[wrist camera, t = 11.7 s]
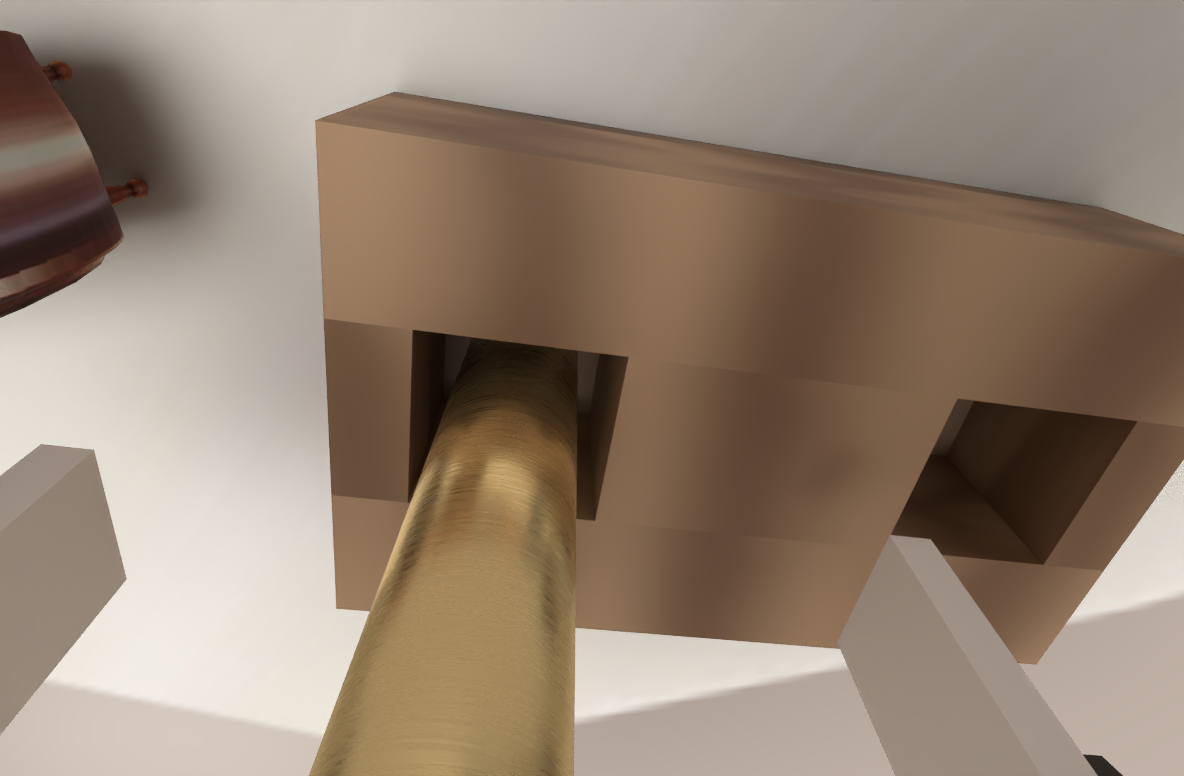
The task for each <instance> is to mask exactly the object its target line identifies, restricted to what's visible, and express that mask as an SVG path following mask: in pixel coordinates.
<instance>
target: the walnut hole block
mask: <svg viewBox="0 0 1184 776" xmlns="http://www.w3.org/2000/svg"><path fill="white" fill-rule="evenodd" d="M315 122H316V146H317V169H318V192H319V215H320V238H321V261H322V285H323V308H324V331H325V354H326V377H327V400H328V424H329V447H330V470H331V493H332V516H333V539H334V562H335V586H336V609H348V610H361V611H370V610H371V607H372V605H373V602H374V599H375V597H376V594H377V591H378V589H379V586H380V583H381V580H382V578H383V575H384V572H385V570H386V567H387V564H388V562H389V559H390V556H391V553H392V551H393V548H394V545H395V543H396V540H397V537H398V535H399V532H400V529H401V527H402V524H403V521H404V518H405V516H406V513H407V510H408V508H409V505H410V502H411V500H412V497H413V494H414V492H415V489H416V486H417V483H418V481H419V478H420V475H421V473H422V470H423V467H424V465H425V462H426V459H427V457H428V454H429V451H430V448H431V446H432V443H433V440H434V438H435V435H436V432H437V430H438V427H439V424H440V421H441V419H442V416H443V413H444V411H445V408H446V405H447V403H448V400H449V397H450V395H451V392H452V389H453V386H454V384H455V381H456V378H457V376H458V373H459V370H460V368H461V365H462V362H463V360H464V357H465V354H466V351H467V349H468V346H469V343H470V341H471V338H472V337H474V338H482V339H490V340H498V341H506V342H514V343H522V344H530V345H538V346H546V347H554V348H562V349H570V350H577V351H578V405H577V503H576V601H575V628H586V629H598V630H611V631H623V632H636V633H648V634H661V635H673V636H686V637H698V638H711V639H723V640H736V641H748V642H761V643H774V644H786V645H799V646H811V647H824V648H836V649H840V647H839V645H838V643H837V642H838V640H839V637H840V635H841V633H842V631H843V629H844V627H845V625H846V623H847V621H848V619H849V617H850V615H851V613H852V611H853V609H854V607H855V605H856V603H857V601H858V599H859V597H860V595H861V593H862V591H863V589H864V587H865V585H866V582H867V580H868V578H869V576H870V574H871V572H872V570H873V568H874V566H875V564H876V562H877V560H878V558H879V556H880V554H881V552H882V550H883V548H884V546H885V544H886V542H887V540H888V538H889V536H890V535H895V536H905V537H914V538H924V539H931V540H932V542H933V543H934V545H935V546H936V547H937V549H938V550H939V552H940V553H941V555H942V556H943V557H944V559H945V560H946V562H947V563H948V564H949V566H950V567H951V569H952V570H953V572H954V573H955V574H956V576H957V577H958V579H959V580H960V581H961V583H962V584H963V586H964V587H965V589H966V590H967V591H968V593H969V594H970V596H971V597H972V598H973V600H974V601H975V603H976V604H977V606H978V607H979V608H980V610H981V611H982V613H983V614H984V615H985V617H986V618H987V620H988V621H989V622H990V624H991V625H992V627H993V628H994V630H995V631H996V632H997V634H998V635H999V637H1000V638H1001V639H1002V641H1003V642H1004V644H1005V645H1006V647H1007V648H1008V649H1009V651H1010V652H1011V654H1012V655H1013V656H1014V658H1015V659H1016V661H1017V662H1018V663H1024V664H1037V663H1038V661H1039V660H1040V658H1041V657H1042V656H1043V654H1044V653H1045V652H1046V650H1047V649H1048V647H1049V646H1050V645H1051V643H1052V642H1053V640H1054V639H1055V638H1056V636H1057V635H1058V633H1059V632H1060V631H1061V629H1062V628H1063V627H1064V625H1065V624H1066V622H1067V621H1068V620H1069V618H1070V617H1071V615H1072V614H1073V613H1074V611H1075V610H1076V608H1077V607H1078V606H1079V604H1080V603H1081V601H1082V600H1083V599H1084V597H1085V596H1086V595H1087V593H1088V592H1089V590H1090V589H1091V588H1092V586H1093V585H1094V583H1095V582H1096V581H1097V579H1098V578H1099V576H1100V575H1101V574H1102V572H1103V571H1104V569H1105V568H1106V567H1107V565H1108V564H1109V562H1110V561H1111V560H1112V558H1113V557H1114V556H1115V554H1116V553H1117V551H1118V550H1119V549H1120V547H1121V546H1122V544H1123V543H1124V542H1125V540H1126V539H1127V537H1128V536H1129V535H1130V533H1131V532H1132V530H1133V529H1134V528H1135V526H1136V525H1137V524H1138V522H1139V521H1140V519H1141V518H1142V517H1143V515H1144V514H1145V512H1146V511H1147V510H1148V508H1149V507H1150V505H1151V504H1152V503H1153V501H1154V500H1155V498H1156V497H1157V496H1158V494H1159V493H1160V492H1161V490H1162V489H1163V487H1164V486H1165V485H1166V483H1167V482H1168V480H1169V479H1170V478H1171V476H1172V475H1173V473H1174V472H1175V471H1176V469H1177V468H1178V466H1179V465H1180V464H1181V462H1182V461H1183V460H1184V235H1183V234H1180V233H1177V232H1174V231H1171V230H1168V229H1165V228H1162V227H1158V226H1155V225H1152V224H1149V223H1146V222H1143V221H1140V220H1137V219H1134V218H1131V217H1128V216H1125V215H1122V214H1119V213H1116V212H1113V211H1110V210H1107V209H1104V208H1099V207H1093V206H1086V205H1080V204H1074V203H1068V202H1062V201H1056V200H1050V199H1044V198H1038V197H1032V196H1026V195H1020V194H1013V193H1007V192H1001V191H995V190H989V189H983V188H977V187H971V186H965V185H959V184H953V183H947V182H940V181H934V180H928V179H922V178H916V177H910V176H904V175H898V174H892V173H886V172H880V171H873V170H867V169H861V168H855V167H849V166H843V165H837V164H831V163H825V162H819V161H813V160H807V159H800V158H794V157H788V156H782V155H776V154H770V153H764V152H758V151H752V150H746V149H740V148H734V147H727V146H721V145H715V144H709V143H703V142H697V141H691V140H685V139H679V138H673V137H667V136H660V135H654V134H648V133H642V132H636V131H630V130H624V129H618V128H612V127H606V126H600V125H594V124H587V123H581V122H575V121H569V120H563V119H557V118H551V117H545V116H539V115H533V114H527V113H521V112H514V111H508V110H502V109H496V108H490V107H484V106H478V105H472V104H466V103H460V102H454V101H447V100H441V99H435V98H429V97H423V96H417V95H411V94H405V93H399V92H393V93H390V94H387V95H384V96H382V97H379V98H376V99H373V100H371V101H368V102H365V103H362V104H359V105H357V106H354V107H351V108H348V109H346V110H343V111H340V112H337V113H335V114H332V115H329V116H326V117H323V118H321V119H318V120H315Z"/></svg>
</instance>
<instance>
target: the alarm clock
mask: <svg viewBox="0 0 1184 776" xmlns="http://www.w3.org/2000/svg"><path fill="white" fill-rule="evenodd" d="M71 77H72V70H71V69H70V67H69V66H68V65H67V64H66V63H64V62H63V61H53V62H50V63H49V64H48V67H40V66H39V64H38V63H37V61H36V60H35V58H34V56H33V55H32V53H31V51H30V50H29V48H28V46H27V44H26V43H25V41H24V39H23V38H22V36H21V35H19V34H15V33H12V32H8V31H0V318H1V317H3V316H6V315H8V314H10V313H13V312H15V311H18V310H20V309H22V308H25V307H27V306H29V305H31V304H33V303H35V302H37V301H39V300H41V299H43V298H45V297H47V296H49V295H51V294H53V293H55V292H57V291H59V290H61V289H63V288H65V287H67V286H69V285H71V284H73V283H75V282H77V281H78V280H80V279H81V278H82V277H84V276H85V275H87V274H88V273H89V272H91V271H92V270H93V269H95V268H96V267H98V266H99V265H100V264H101V263H102V261H103V259H104V256H105V255H106V254H107V253H109V252H110V251H112V250H113V249H115V248H116V247H117V246H118V245H119V244H120V243H121V242H122V240H123V233H122V230H121V227H120V225H119V222H118V219H117V216H116V214H115V211H114V209H113V206H114V205H116V204H118V203H120V202H122V201H124V200H126V199H128V198H130V197H135V198H142V197H145V196H146V195H147V193H148V187H147V186H146V184H145V182H143V181H141V180H139V179H131V180H129V181H128V182H127V183H126V185H122V186H112V187H105V186H104V183H103V180H102V178H101V175H100V173H99V170H98V168H97V165H96V162H95V160H94V157H93V155H92V152H91V150H90V148H89V146H88V144H87V142H86V140H85V138H84V136H83V134H82V132H81V130H80V128H79V126H78V124H77V122H76V121H75V119H74V118H73V116H72V115H71V113H70V112H69V110H68V109H67V107H66V106H65V104H64V103H63V101H62V99H61V98H60V96H59V95H58V93H57V92H56V90H55V89H54V87H53V86H52V84H51V83H50V82H52V81H54V80H56V79H57V80H60V81H67V80H69V79H70V78H71Z"/></svg>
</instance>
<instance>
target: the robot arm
mask: <svg viewBox="0 0 1184 776" xmlns="http://www.w3.org/2000/svg"><path fill="white" fill-rule="evenodd" d="M125 580H126V575H125V571H124V567H123V563H122V559H121V555H120V551H119V547H118V543H117V540H116V536H115V532H114V528H113V524H112V520H111V516H110V512H109V508H108V504H107V500H106V496H105V492H104V488H103V484H102V480H101V476H100V472H99V468H98V464H97V460H96V457H95V453H94V450H90V449H80V448H71V447H61V446H52V445H43V444H41V445H39V446H38V447H37V448H36V449H34V450H33V451H32V452H30V453H29V454H28V455H27V456H25V457H24V458H23V459H22V460H20V461H19V462H18V463H16V464H15V465H14V466H13V467H11V468H10V469H9V470H7V471H6V472H5V473H4V474H2V475H1V476H0V735H1V733H2V732H3V731H4V730H5V728H6V727H7V726H8V725H9V723H10V722H11V721H12V720H13V719H14V717H15V716H16V715H17V714H18V712H19V711H20V710H21V709H22V707H23V706H24V705H25V704H26V702H27V701H28V700H29V699H30V698H31V696H32V695H33V694H34V692H35V691H36V690H37V689H38V688H39V686H40V685H41V684H42V683H43V682H44V680H45V679H46V678H47V677H48V675H49V674H50V673H51V672H52V670H53V669H54V668H55V667H56V666H57V664H58V663H59V662H60V661H61V659H62V658H63V657H64V656H65V654H66V653H67V652H68V651H69V649H70V648H71V647H72V646H73V645H74V643H75V642H76V641H77V640H78V638H79V637H80V636H81V635H82V633H83V632H84V631H85V630H86V629H87V627H88V626H89V625H90V624H91V622H92V621H93V620H94V619H95V617H96V616H97V615H98V614H99V612H100V611H101V610H102V609H103V608H104V606H105V605H106V604H107V603H108V601H109V600H110V599H111V598H112V596H113V595H114V594H115V593H116V592H117V590H118V589H119V588H120V587H121V585H122V584H123V583H124V582H125ZM837 643H838V645H839V647H840V650H841V652H842V654H843V656H844V659H845V661H846V663H847V666H848V668H849V670H850V673H851V675H852V677H853V679H854V682H855V684H856V686H857V689H858V691H859V693H860V695H861V698H862V700H863V702H864V705H865V707H866V709H867V712H868V714H869V716H870V719H871V721H872V723H873V725H874V728H875V730H876V732H877V735H878V737H879V739H880V742H881V744H882V746H883V748H884V750H885V753H886V755H887V757H888V760H889V762H890V765H891V767H892V769H893V771H894V774H895V776H1123V775H1121V774H1120V773H1119V772H1118V771H1117V770H1116V769H1115V768H1114V767H1113V766H1112V765H1111V764H1109V762H1108V761H1106V760H1105V759H1104V758H1103V757H1102V756H1096V755H1083V754H1082V753H1081V751H1080V750H1079V748H1078V747H1077V746H1076V745H1075V743H1074V741H1073V740H1072V739H1071V737H1070V736H1069V734H1068V733H1067V731H1066V730H1065V729H1064V727H1063V726H1062V725H1061V723H1060V722H1059V720H1058V719H1057V717H1056V716H1055V715H1054V713H1053V712H1052V710H1051V709H1050V707H1049V706H1048V705H1047V703H1046V702H1045V700H1044V699H1043V698H1042V696H1041V695H1040V694H1039V692H1038V690H1037V689H1036V688H1035V686H1034V685H1033V684H1032V682H1031V681H1030V679H1029V678H1028V677H1027V675H1026V674H1025V672H1024V671H1023V669H1022V668H1021V666H1020V665H1019V664H1018V662H1017V661H1016V659H1015V658H1014V656H1013V655H1012V654H1011V652H1010V651H1009V649H1008V648H1007V647H1006V645H1005V644H1004V642H1003V641H1002V639H1001V638H1000V637H999V635H998V634H997V632H996V631H995V630H994V628H993V627H992V625H991V624H990V622H989V621H988V620H987V618H986V617H985V615H984V614H983V613H982V611H981V610H980V608H979V607H978V606H977V604H976V603H975V601H974V600H973V598H972V597H971V596H970V594H969V593H968V591H967V590H966V589H965V587H964V586H963V584H962V583H961V581H960V580H959V579H958V577H957V576H956V574H955V573H954V572H953V570H952V569H951V567H950V566H949V564H948V563H947V562H946V560H945V559H944V557H943V556H942V555H941V553H940V552H939V550H938V549H937V547H936V546H935V545H934V543H933V542H932V540H931V539H924V538H914V537H905V536H895V535H890V536H889V538H888V540H887V542H886V544H885V546H884V548H883V550H882V552H881V554H880V556H879V558H878V560H877V562H876V564H875V566H874V568H873V570H872V572H871V574H870V576H869V578H868V580H867V582H866V585H865V587H864V589H863V591H862V593H861V595H860V597H859V599H858V601H857V603H856V605H855V607H854V609H853V611H852V613H851V615H850V617H849V619H848V621H847V623H846V625H845V627H844V629H843V631H842V633H841V635H840V637H839V640H838V642H837Z"/></svg>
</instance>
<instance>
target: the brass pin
mask: <svg viewBox="0 0 1184 776" xmlns="http://www.w3.org/2000/svg"><path fill="white" fill-rule="evenodd" d="M577 405H578V351H577V350H570V349H562V348H554V347H546V346H538V345H530V344H522V343H514V342H506V341H498V340H490V339H482V338H474V337H472V338H471V341H470V343H469V346H468V349H467V351H466V354H465V357H464V360H463V362H462V365H461V368H460V370H459V373H458V376H457V378H456V381H455V384H454V386H453V389H452V392H451V395H450V397H449V400H448V403H447V405H446V408H445V411H444V413H443V416H442V419H441V421H440V424H439V427H438V430H437V432H436V435H435V438H434V440H433V443H432V446H431V448H430V451H429V454H428V457H427V459H426V462H425V465H424V467H423V470H422V473H421V475H420V478H419V481H418V483H417V486H416V489H415V492H414V494H413V497H412V500H411V502H410V505H409V508H408V510H407V513H406V516H405V518H404V521H403V524H402V527H401V529H400V532H399V535H398V537H397V540H396V543H395V545H394V548H393V551H392V553H391V556H390V559H389V562H388V564H387V567H386V570H385V572H384V575H383V578H382V580H381V583H380V586H379V589H378V591H377V594H376V597H375V599H374V602H373V605H372V607H371V610H370V613H369V615H368V618H367V621H366V624H365V626H364V629H363V632H362V634H361V637H360V640H359V642H358V645H357V648H356V650H355V653H354V656H353V659H352V661H351V664H350V667H349V669H348V672H347V675H346V677H345V680H344V683H343V686H342V688H341V691H340V694H339V696H338V699H337V702H336V704H335V707H334V710H333V712H332V715H331V718H330V721H329V723H328V726H327V729H326V731H325V734H324V737H323V739H322V742H321V745H320V747H319V750H318V753H317V756H316V758H315V761H314V764H313V766H312V769H311V772H310V775H309V776H574V699H575V601H576V503H577Z"/></svg>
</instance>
